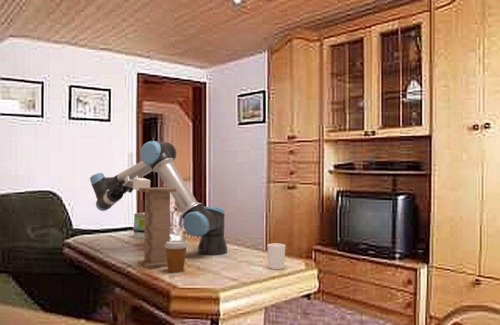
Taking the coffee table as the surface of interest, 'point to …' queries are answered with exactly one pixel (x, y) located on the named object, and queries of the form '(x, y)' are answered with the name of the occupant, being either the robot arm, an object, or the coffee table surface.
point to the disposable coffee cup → (175, 255)
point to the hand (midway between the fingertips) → (133, 178)
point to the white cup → (276, 255)
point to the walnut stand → (156, 226)
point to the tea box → (139, 225)
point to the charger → (138, 183)
